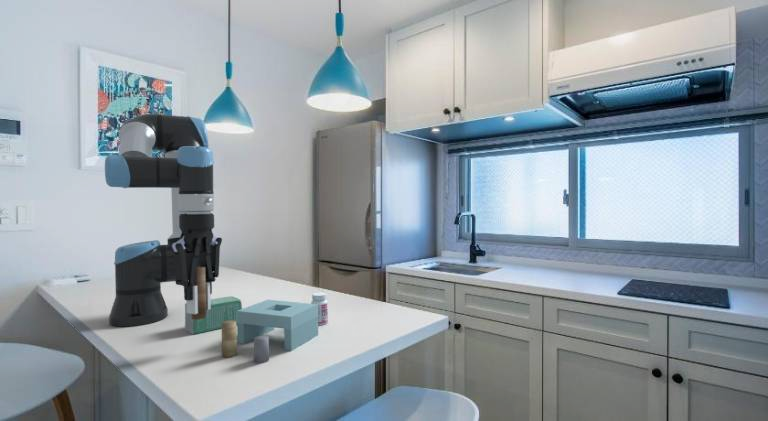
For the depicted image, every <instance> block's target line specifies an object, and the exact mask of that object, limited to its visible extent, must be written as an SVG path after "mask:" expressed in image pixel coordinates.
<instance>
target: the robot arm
mask: <svg viewBox="0 0 768 421" xmlns="http://www.w3.org/2000/svg"><path fill="white" fill-rule="evenodd" d="M118 140H119V144H120V146H119V150H118V154H117V155H108V156H106V157H105V160H104V176H105V183H106V185H107V186H108V187H111V188H123V189H129V188H130V189H132V188H133V189H138V188H140V189H141V188H143V189H144V188H149V189H150V188H157V189H158V188H160V189H161V188H162V189H163V188H165V189H167V188H168V189H171V192H170V193H171V216H172V217H171V219H172V220H171V221H172V222H171V223H172V234H171V235H170V236H169V237H168V238H167V240H166V241H167V244H161V242H160V241H159V240H148V241H140V242H134V243H130V244H125V245H122V246H119V247H117V248H116V250H115V252H114V253H115V254H114V263H113V265H114V270H115V271H114V272H115V273H114V275H115V298H114V301H113V303H112V307H111V309H110V313H109V316H108V321H109V322H108V323H109V326H114V327H133V326H134V327H135V326H141V325H149V324H151V323H156V322H158V321H161V320H164V319H165V318H167V317H168V316H169V312H168V306H167V304H166V301H165V299H164V296H163V294H162V290H161V288H162V287H161V284H162V283H170V282H174V283H175V285H177V286H182V287H183V294H184V295H183V298H184V300H185V301H186V302H185V303H186V309H187V313H190V314H198V295H197V286H194V282H195V273H196V267H198V266H204V267H205V273H206V310H209V309H211V302H210V299H211V295H212V292H213V285H212V284H213V282H216V278H218V277H219V275H220V256H221V254H220V253H221V244H222V242H223V239H222V237H217V236H214V233H213V229H214V228H215V215H214V213H212V212H213V211H214V210H215V203H214V202H215V201H214V200H215V198H214V197H215V195H214V193H215V192H214V164H215V160H214V153H213V150H212V149H211V148H210V146H209V145H210V144H209V136H208V131H207V127H206V124H205V122H204V120H203V119H201V118H200V117H199V118H198V117H192V116H184V115H183V116H181V115H169V114H158V113H146V114H145V113H144V114H140V115H137V116H135V117H132V118H130V119H128V120H127V121H125V122H124V123H123V124H122V125H121V126H120V127H119V130H118ZM153 151H162V152H164V156H165V157H163V156H162V157H159V156H157V157H156V156H153Z"/></svg>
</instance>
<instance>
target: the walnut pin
mask: <svg viewBox="0 0 768 421" xmlns="http://www.w3.org/2000/svg"><path fill="white" fill-rule="evenodd" d="M194 286H197V295H198V314H192V319H194V320H198V319H203V318H206V273H205V267H204V266H198V267H196V273H195V282H194Z"/></svg>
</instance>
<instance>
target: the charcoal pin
mask: <svg viewBox="0 0 768 421" xmlns="http://www.w3.org/2000/svg"><path fill="white" fill-rule="evenodd" d="M269 338H270V337H269V336H268V335H261V336H257V337H255V338H254V339H253V362H254V363H255V364H264V363H267V362H269V361H270V344H269V342H270V339H269Z"/></svg>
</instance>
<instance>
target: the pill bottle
mask: <svg viewBox="0 0 768 421" xmlns="http://www.w3.org/2000/svg"><path fill="white" fill-rule="evenodd" d="M311 299H312V300H311V302H310V304H318V326H324V325H326V324H328V323H329V322H328V321H329V319H328V318H329V313H328V312H329V311H328V310H329V309H328V307H329V306H328V305H329V302H328V300H327V292H326V293H325V292H314V293H312V295H311Z"/></svg>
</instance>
